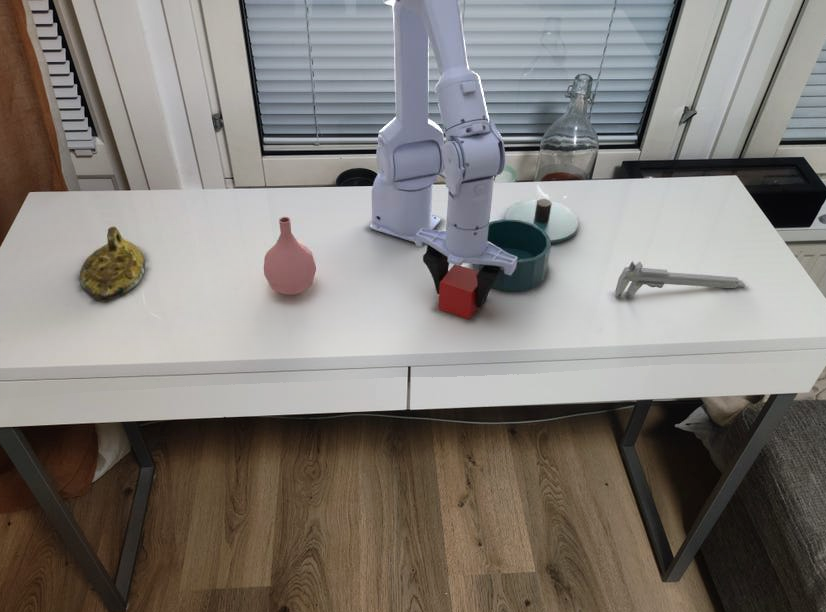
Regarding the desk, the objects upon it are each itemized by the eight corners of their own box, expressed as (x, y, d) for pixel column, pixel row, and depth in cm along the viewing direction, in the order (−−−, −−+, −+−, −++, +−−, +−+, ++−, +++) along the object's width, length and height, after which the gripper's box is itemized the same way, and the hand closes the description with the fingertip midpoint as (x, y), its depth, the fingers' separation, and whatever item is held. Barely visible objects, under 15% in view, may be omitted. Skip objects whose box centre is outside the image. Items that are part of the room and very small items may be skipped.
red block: (438, 309, 111) (439, 282, 107) (452, 290, 114) (454, 263, 110) (469, 319, 109) (471, 292, 106) (483, 300, 112) (486, 273, 109)
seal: (142, 305, 112) (148, 246, 123) (138, 280, 109) (145, 221, 119) (74, 306, 110) (87, 245, 121) (69, 280, 107) (82, 220, 118)
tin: (461, 278, 116) (463, 248, 112) (489, 240, 123) (493, 212, 119) (530, 300, 112) (535, 270, 109) (555, 260, 120) (560, 231, 116)
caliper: (616, 300, 113) (625, 266, 108) (613, 295, 113) (622, 261, 109) (744, 288, 115) (758, 254, 111) (741, 283, 116) (754, 250, 112)
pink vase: (264, 274, 116) (255, 207, 108) (314, 269, 117) (308, 202, 109) (268, 306, 111) (258, 238, 102) (320, 300, 112) (314, 232, 103)
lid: (492, 233, 125) (495, 210, 122) (519, 198, 133) (522, 176, 130) (563, 254, 121) (567, 231, 118) (587, 216, 129) (591, 194, 126)
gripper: (406, 218, 101) (404, 297, 110) (507, 248, 96) (496, 329, 106) (429, 193, 105) (426, 271, 115) (527, 221, 101) (515, 300, 110)
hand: (461, 297), depth 110 cm, fingers open, 6 cm apart
